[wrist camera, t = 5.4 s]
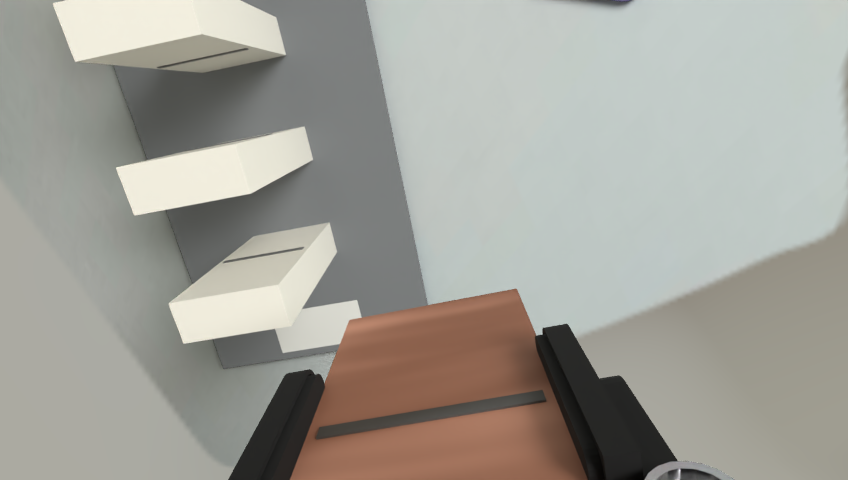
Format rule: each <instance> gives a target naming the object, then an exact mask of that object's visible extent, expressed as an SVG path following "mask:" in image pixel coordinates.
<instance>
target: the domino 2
mask: <svg viewBox="0 0 848 480" xmlns="http://www.w3.org/2000/svg"><path fill="white" fill-rule="evenodd" d="M312 160H313V157H312V153H311V150H310V146H309V142H308V138H307V134H306V130H305V126H304V127H299V128H294V129H289V130H284V131H279V132H274V133H269V134H264V135H259V136H253V137H248V138H243V139H238V140H233V141H228V142H223V143H219V144H215V145H210V146H205V147H200V148H195V149H190V150H185V152H181V153H176V154H172V155H168V156H163V157H159V158H155V159H151V160H146V161H142V162H138V163H133V164H129V165H125V166H120V167H116V169H117V172H118V174H119V177H120V180H121V182H122V185H123V187H124V190H125V193H126V195H127V198H128V200H129V203H130V206H131V208H132V211H133V213H134V216H135V215H140V214H146V213H151V212H156V211H162V210H167V209H172V208H178V207H183V206H188V205H193V204H199V203H204V202H209V201H215V200H220V199H225V198H231V197H236V196H241V195H247V194H251V193H253V192H255V191H257V190H259V189H260V188H262V187H264V186H266V185H268V184H270V183H271V182H273V181H275V180H277V179H279V178H281V177H282V176H284V175H286V174H288V173H290V172H292V171H293V170H295V169H297V168H299V167H301V166H303V165H304V164H306V163H308V162H310V161H312Z"/></svg>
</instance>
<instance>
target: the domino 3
mask: <svg viewBox="0 0 848 480" xmlns="http://www.w3.org/2000/svg"><path fill="white" fill-rule="evenodd" d="M336 253H337V250H336V246H335V242H334V238H333V234H332V231H331V227H330V223H324V224H318V225H313V226H307V227H302V228H296V229H291V230H285V231H280V232H274V233H268V234H263V235H257V236H253V237H252V238H251V239H250V240H248V241H247V242H246V243H244V244H243V245H242V246H241V247H239V248H238V249H237V250H236V251H234V252H233V253H232V254H230V255H229V256H228V257H227V258H225V259H224V260H223V261H222V262H220V263H219V264H218V265H216V266H215V267H214V268H213V269H211V270H210V271H209V272H208V273H206V274H205V275H204V276H203V277H201V278H200V279H199V280H197V281H196V282H195V283H194V284H192V285H191V286H190V287H189V288H187V289H186V290H185V291H183V292H182V293H181V294H180V295H178V296H177V297H176V298H175V299H173V300H172V301H171V302H169V303H168V304H169V307H170V309H171V312H172V315H173V317H174V320H175V322H176V325H177V328H178V330H179V333H180V335H181V338H182V341H183V343H184V344H185V343H191V342H197V341H203V340H210V339H216V338H222V337H228V336H234V335H240V334H246V333H252V332H258V331H264V330H271V329H277V328H283V327H289V326H292V324H293V322H294V321H295V319H296V318H297V316H298V314H299V313H300V311H301V309H302V308H303V306H304V305H305V303H306V301H307V300H308V298H309V297H310V295H311V293H312V292H313V290H314V288H315V287H316V285H317V284H318V282H319V280H320V279H321V277H322V276H323V274H324V272H325V271H326V269H327V268H328V266H329V264H330V263H331V261H332V259H333V258H334V256H335V255H336Z"/></svg>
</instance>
